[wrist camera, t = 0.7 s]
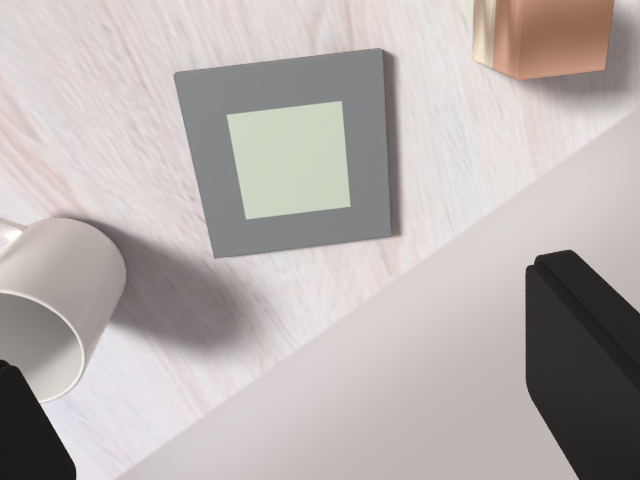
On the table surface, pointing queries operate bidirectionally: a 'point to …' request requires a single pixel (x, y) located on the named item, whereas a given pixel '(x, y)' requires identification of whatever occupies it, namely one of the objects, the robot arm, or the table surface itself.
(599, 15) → the brick stack
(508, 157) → the table surface
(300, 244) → the base board
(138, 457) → the table surface
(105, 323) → the mug
